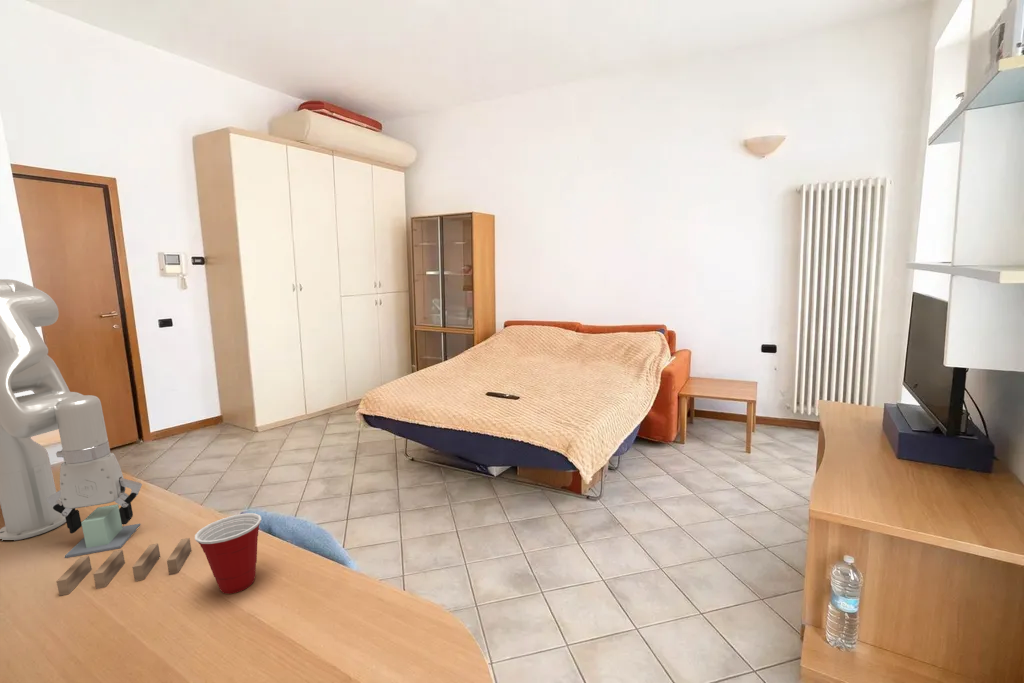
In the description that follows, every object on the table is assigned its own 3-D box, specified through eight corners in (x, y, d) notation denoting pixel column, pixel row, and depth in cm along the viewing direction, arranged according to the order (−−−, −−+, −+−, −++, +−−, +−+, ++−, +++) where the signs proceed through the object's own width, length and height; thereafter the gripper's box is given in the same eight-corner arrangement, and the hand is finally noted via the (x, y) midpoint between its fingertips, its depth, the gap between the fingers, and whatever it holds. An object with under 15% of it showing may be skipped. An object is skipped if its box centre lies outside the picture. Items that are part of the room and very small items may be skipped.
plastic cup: (258, 559, 100) (250, 504, 98) (277, 581, 92) (269, 522, 90) (197, 585, 93) (187, 526, 91) (212, 612, 85) (202, 548, 83)
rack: (82, 570, 99) (80, 557, 98) (191, 550, 104) (189, 537, 104) (59, 595, 91) (56, 581, 91) (177, 572, 97) (175, 559, 96)
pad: (90, 533, 113) (89, 531, 113) (140, 525, 116) (140, 523, 116) (65, 558, 104) (64, 555, 104) (120, 548, 107) (120, 546, 106)
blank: (102, 531, 113) (97, 507, 112) (122, 528, 114) (118, 504, 113) (86, 548, 106) (81, 522, 105) (108, 544, 108) (103, 518, 107)
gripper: (27, 465, 101) (44, 542, 103) (126, 452, 105) (139, 526, 108) (49, 452, 108) (64, 525, 111) (141, 441, 113) (153, 510, 115)
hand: (101, 525), depth 109 cm, fingers open, 9 cm apart
